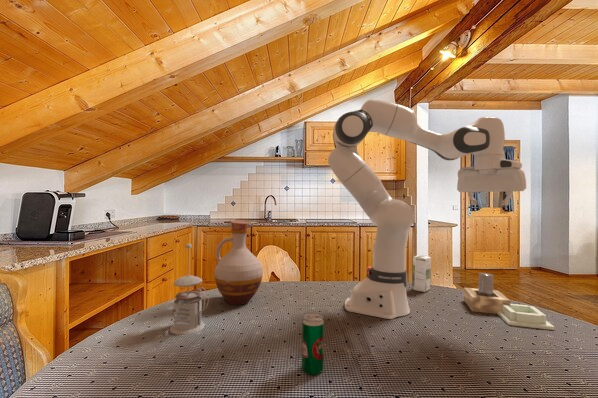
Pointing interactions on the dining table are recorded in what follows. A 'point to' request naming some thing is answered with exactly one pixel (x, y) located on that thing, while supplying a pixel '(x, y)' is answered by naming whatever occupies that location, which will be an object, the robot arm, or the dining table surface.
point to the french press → (188, 305)
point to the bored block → (485, 301)
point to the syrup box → (421, 273)
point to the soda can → (312, 344)
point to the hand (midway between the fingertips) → (489, 205)
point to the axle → (485, 285)
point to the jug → (238, 268)
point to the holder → (524, 316)
